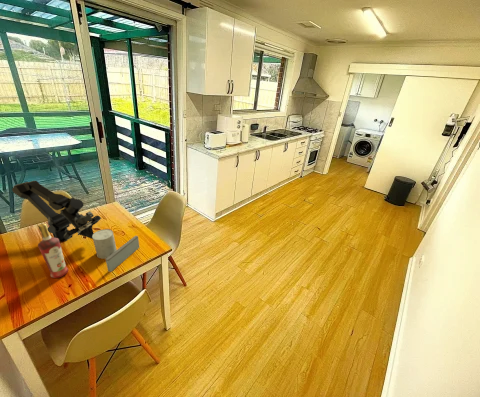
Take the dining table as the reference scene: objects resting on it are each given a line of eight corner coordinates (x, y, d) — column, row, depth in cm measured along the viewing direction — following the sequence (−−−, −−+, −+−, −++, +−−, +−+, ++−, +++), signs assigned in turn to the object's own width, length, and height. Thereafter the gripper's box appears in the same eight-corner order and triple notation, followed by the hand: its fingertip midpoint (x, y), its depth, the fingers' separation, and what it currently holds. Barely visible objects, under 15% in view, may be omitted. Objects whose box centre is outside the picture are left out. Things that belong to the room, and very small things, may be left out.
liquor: (64, 266, 112) (48, 218, 99) (72, 272, 109) (56, 224, 96) (47, 275, 106) (27, 226, 93) (55, 282, 103) (35, 232, 90)
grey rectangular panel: (108, 271, 111) (105, 259, 108) (137, 246, 129) (135, 235, 126) (110, 272, 111) (108, 260, 108) (139, 247, 129) (137, 236, 126)
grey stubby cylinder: (96, 260, 117) (91, 241, 112) (97, 249, 124) (92, 231, 119) (117, 256, 121) (113, 237, 116) (116, 245, 129) (113, 227, 123)
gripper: (61, 218, 107) (85, 242, 109) (95, 202, 123) (114, 223, 125) (54, 228, 112) (76, 251, 115) (87, 211, 128) (106, 232, 131)
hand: (94, 238), depth 121 cm, fingers closed
